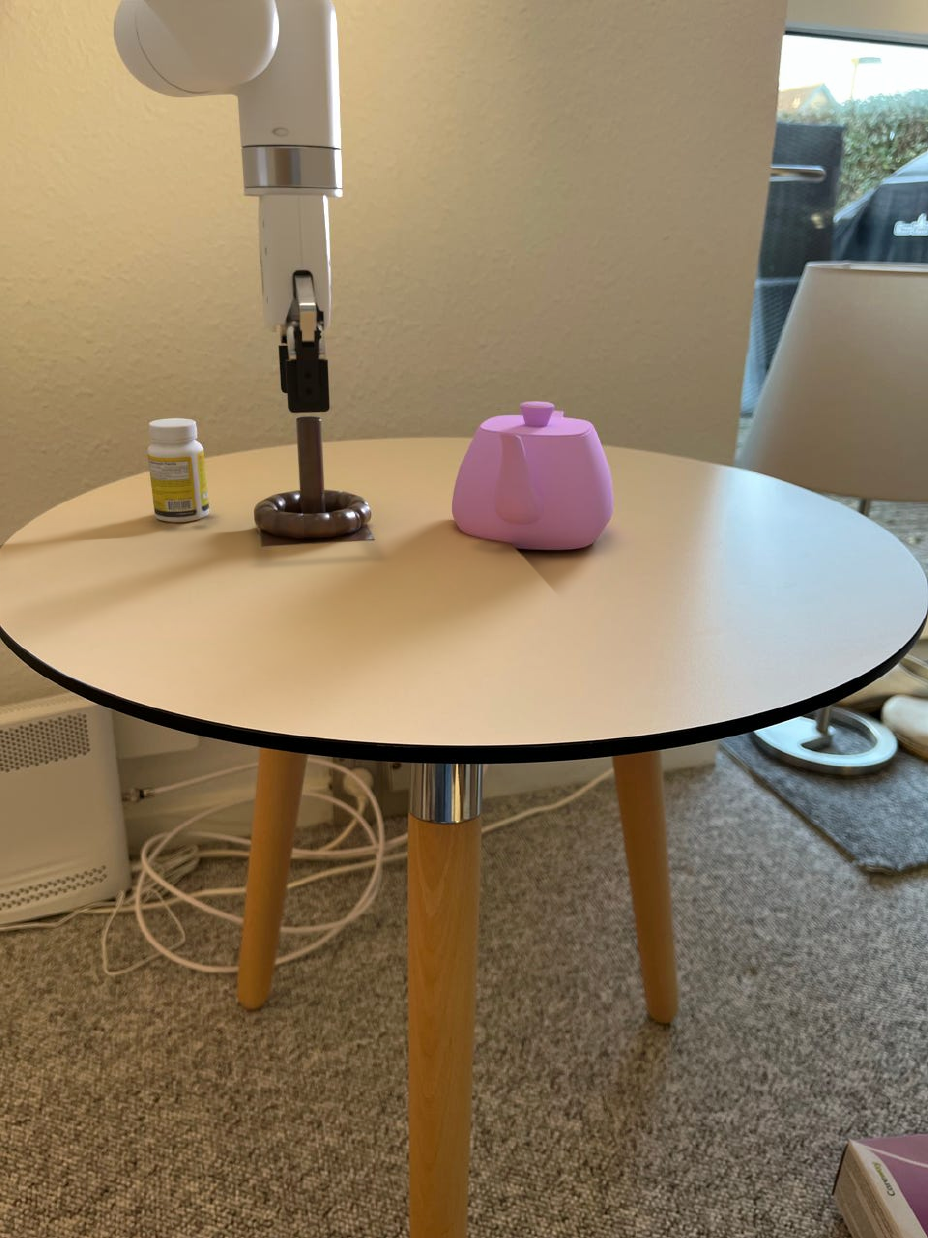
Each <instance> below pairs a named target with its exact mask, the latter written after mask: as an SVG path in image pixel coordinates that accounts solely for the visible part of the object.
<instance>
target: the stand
mask: <svg viewBox="0 0 928 1238" xmlns="http://www.w3.org/2000/svg"><path fill="white" fill-rule="evenodd" d="M295 428H296V429H295V430H296V442H297V443H296V445H297V463H298V482H299V490H300V503H301V513H300V514H315V513H325V493H324V490H325V474H324V473H325V472H324V471H325V470H324V451H323V450H324V449H323V430H322V418H321V417H319V416H314V415H313V416H310V415H309V416H308V415H307V416H299V417H296V418H295ZM257 530H258V532H259V541H260V546H261V548H264V547H265V548H266V547H279V546H282V547H283V546H293V545H294V546H295V545H297V546H299V545H315V544H332V543H349V542H350V543H351V542H365V541H367V542H368V541H375V540H376V538H375V537H374V534H373V532H372V530H371V528H370V527H369V525H368V523H367V524H366V525H364V526H363V527H362V528H360V529H359V530H357V531H356V532H353V533H349V534H345V535H340V536H336V537H332V538H317V539H297V538H288V537H279V536H275V535H273V534H270V533H268V532H266V531H263V530H261V529H260V528H258V527H257Z"/></svg>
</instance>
